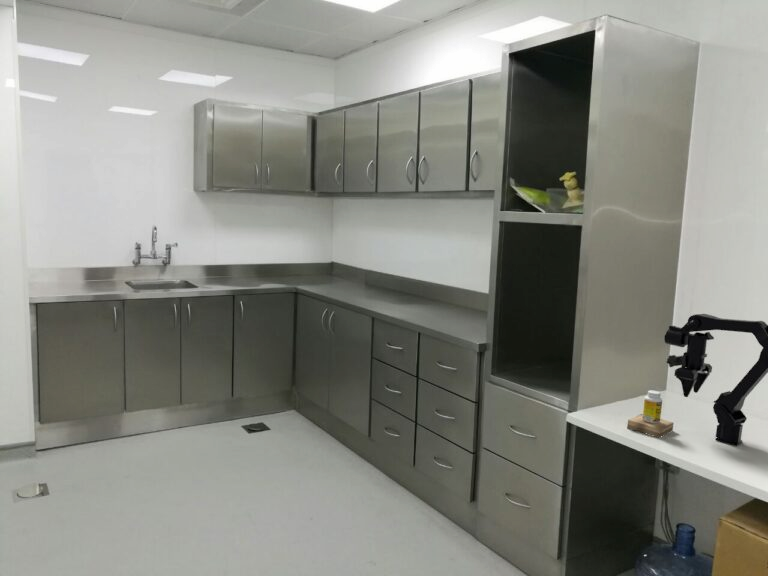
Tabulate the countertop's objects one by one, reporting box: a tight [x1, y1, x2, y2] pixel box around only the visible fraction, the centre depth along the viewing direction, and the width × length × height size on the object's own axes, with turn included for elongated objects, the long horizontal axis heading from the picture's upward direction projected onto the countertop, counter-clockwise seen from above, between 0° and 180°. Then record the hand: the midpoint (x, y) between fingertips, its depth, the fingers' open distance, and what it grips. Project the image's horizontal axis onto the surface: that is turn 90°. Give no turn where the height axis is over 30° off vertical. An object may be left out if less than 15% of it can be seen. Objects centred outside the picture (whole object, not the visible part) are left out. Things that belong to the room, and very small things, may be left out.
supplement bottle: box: [642, 389, 663, 423], centre depth 214 cm, size 6×6×10 cm
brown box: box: [626, 413, 674, 438], centre depth 215 cm, size 11×11×3 cm
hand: (690, 394), depth 217 cm, fingers open, 9 cm apart
